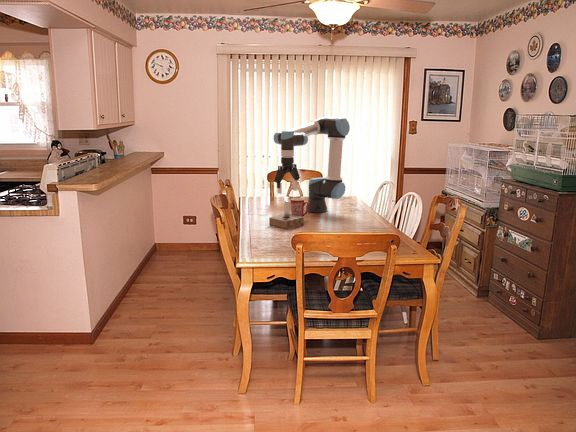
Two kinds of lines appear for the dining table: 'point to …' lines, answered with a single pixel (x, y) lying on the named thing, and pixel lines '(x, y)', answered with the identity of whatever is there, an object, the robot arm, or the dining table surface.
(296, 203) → the mug
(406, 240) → the dining table surface
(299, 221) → the bore block
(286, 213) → the pin
